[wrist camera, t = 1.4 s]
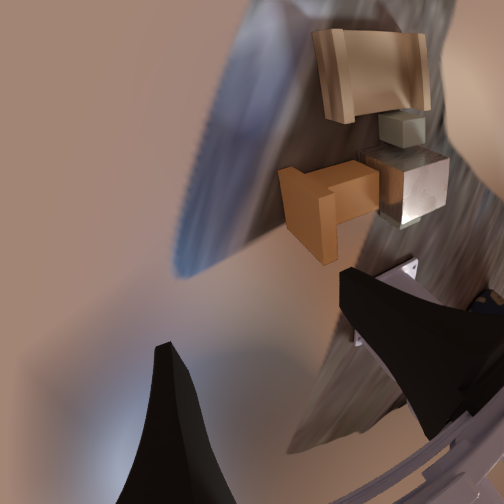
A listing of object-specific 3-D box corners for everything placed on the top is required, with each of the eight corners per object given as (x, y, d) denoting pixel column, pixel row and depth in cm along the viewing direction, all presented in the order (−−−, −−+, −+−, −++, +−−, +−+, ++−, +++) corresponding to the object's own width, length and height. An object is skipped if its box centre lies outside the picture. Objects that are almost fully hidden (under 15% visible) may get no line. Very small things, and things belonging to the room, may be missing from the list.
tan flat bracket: (410, 104, 20) (430, 109, 19) (325, 118, 19) (344, 124, 17) (403, 33, 17) (424, 34, 15) (311, 32, 15) (331, 28, 14)
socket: (400, 208, 25) (420, 220, 23) (379, 216, 25) (399, 229, 23) (400, 110, 20) (425, 117, 18) (377, 114, 20) (402, 121, 18)
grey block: (402, 181, 24) (445, 204, 20) (358, 196, 23) (401, 224, 19) (402, 139, 22) (449, 158, 18) (356, 150, 21) (404, 172, 17)
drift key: (355, 203, 23) (398, 232, 19) (286, 228, 22) (323, 265, 18) (353, 149, 21) (402, 171, 17) (277, 170, 19) (318, 198, 15)
